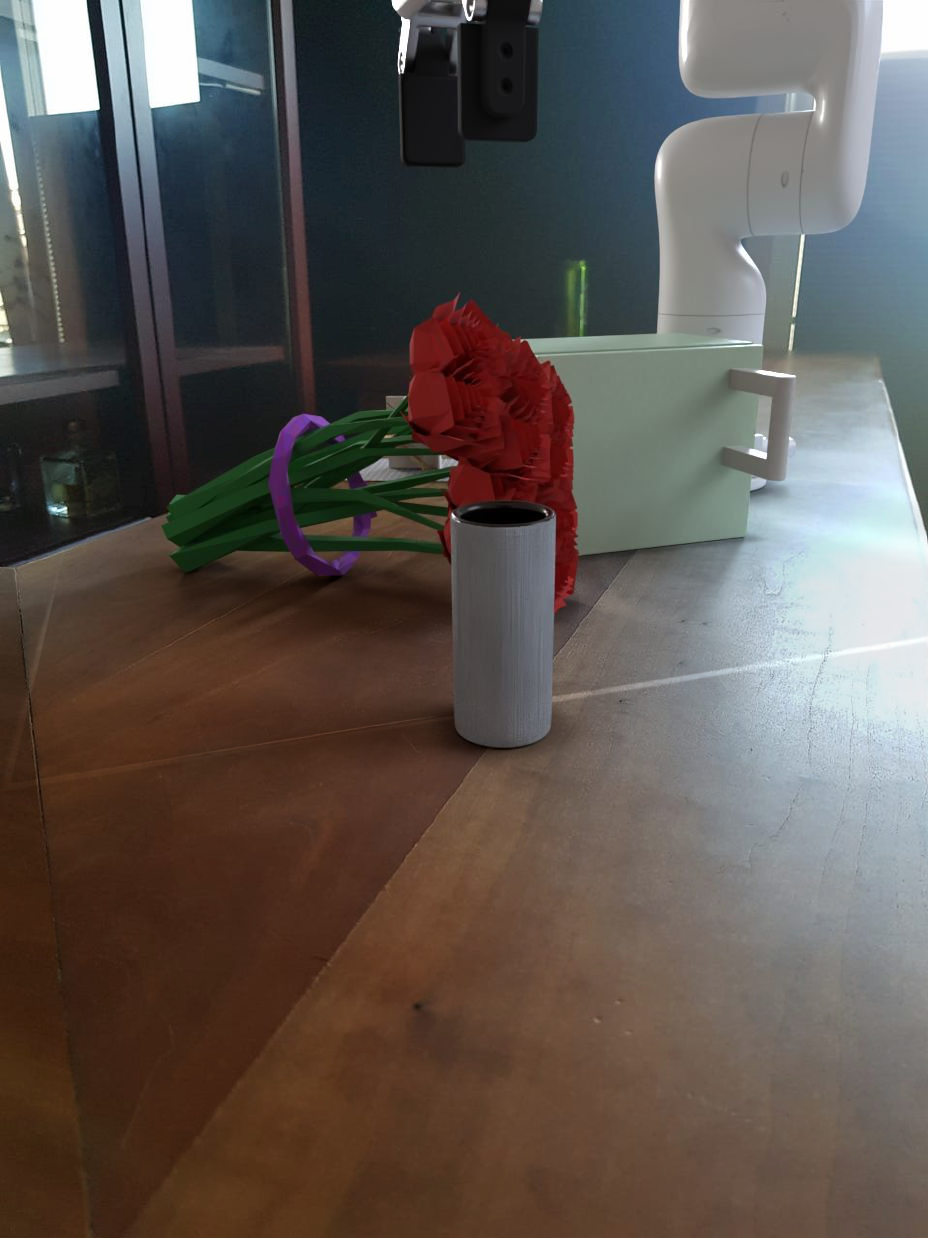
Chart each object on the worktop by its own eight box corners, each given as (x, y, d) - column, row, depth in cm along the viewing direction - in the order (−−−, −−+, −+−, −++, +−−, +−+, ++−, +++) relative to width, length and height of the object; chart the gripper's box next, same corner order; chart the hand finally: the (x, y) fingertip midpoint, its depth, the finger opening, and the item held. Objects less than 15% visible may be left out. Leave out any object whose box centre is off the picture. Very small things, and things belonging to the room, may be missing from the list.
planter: (483, 758, 41) (481, 530, 38) (438, 717, 45) (432, 507, 42) (570, 735, 43) (576, 516, 40) (519, 698, 47) (521, 495, 44)
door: (796, 558, 68) (819, 351, 63) (571, 586, 63) (577, 364, 58) (738, 533, 74) (755, 344, 69) (530, 557, 69) (532, 354, 64)
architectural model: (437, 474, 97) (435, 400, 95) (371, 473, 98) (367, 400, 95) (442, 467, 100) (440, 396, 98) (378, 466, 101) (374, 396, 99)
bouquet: (258, 608, 78) (613, 564, 67) (130, 688, 64) (555, 649, 52) (187, 368, 73) (560, 274, 61) (29, 396, 58) (479, 280, 47)
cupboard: (736, 534, 74) (754, 341, 69) (529, 558, 69) (530, 352, 64) (666, 503, 84) (677, 332, 79) (479, 522, 79) (478, 340, 74)
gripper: (649, -469, 30) (623, 130, 36) (480, -214, 46) (481, 175, 52) (422, -522, 28) (433, 123, 34) (326, -236, 44) (345, 172, 49)
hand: (462, 154), depth 43 cm, fingers open, 9 cm apart
